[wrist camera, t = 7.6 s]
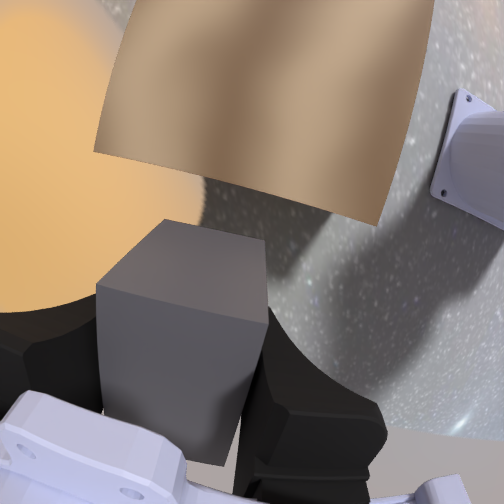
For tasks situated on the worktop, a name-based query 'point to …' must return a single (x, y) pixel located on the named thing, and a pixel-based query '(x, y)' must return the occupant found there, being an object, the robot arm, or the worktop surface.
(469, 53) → the worktop surface
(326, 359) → the worktop surface
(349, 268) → the worktop surface
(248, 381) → the grey upright cuboid
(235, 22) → the wooden tan block
